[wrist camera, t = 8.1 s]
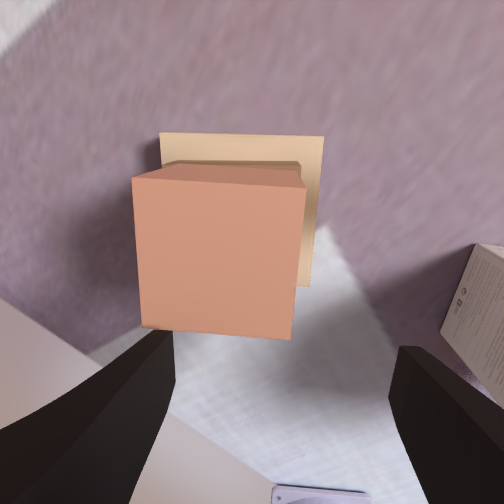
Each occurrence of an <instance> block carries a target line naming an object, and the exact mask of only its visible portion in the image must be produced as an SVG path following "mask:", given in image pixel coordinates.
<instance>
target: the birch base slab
mask: <svg viewBox="0 0 504 504" xmlns="http://www.w3.org/2000/svg"><path fill="white" fill-rule="evenodd" d="M159 135H160V149H161V162H162V164H165V163H169V162H172V161H176V160H238V161H298V162H299V164H300V165H301V179H302V181H303V183H304V184H305V186H306V188H307V192H306V201H305V210H304V219H303V229H302V238H301V247H300V256H299V265H298V275H297V284H296V286H303V287H310V279H311V268H312V258H313V247H314V236H315V226H316V215H317V204H318V194H319V183H320V173H321V162H322V151H323V141H324V137H323V136H301V135H261V134H221V133H180V132H162V133H159Z"/></svg>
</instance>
